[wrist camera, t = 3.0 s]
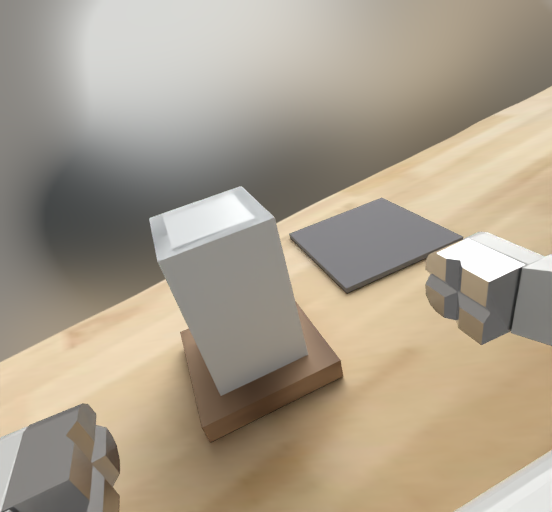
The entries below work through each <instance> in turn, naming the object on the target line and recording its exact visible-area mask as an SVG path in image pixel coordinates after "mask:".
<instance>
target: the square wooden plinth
mask: <svg viewBox="0 0 552 512" xmlns="http://www.w3.org/2000/svg"><path fill="white" fill-rule="evenodd" d="M295 303H296V301H295ZM296 307H297V311H298V315H299V319H300V323H301V327H302V331H303V335H304V339H305V343H306V347H307V352H308V355H307V356H304V357H302V358H300V359H298V360H296V361H294V362H292V363H290V364H288V365H285V366H283V367H281V368H279V369H277V370H275V371H273V372H271V373H269V374H266V375H264V376H262V377H260V378H258V379H256V380H254V381H252V382H250V383H247V384H245V385H243V386H241V387H239V388H237V389H235V390H233V391H231V392H228V393H226V394H224V395H222V396H221V395H220V393H219V391H218V389H217V387H216V385H215V383H214V381H213V378H212V376H211V374H210V372H209V370H208V368H207V366H206V364H205V361H204V359H203V357H202V355H201V353H200V351H199V349H198V347H197V344H196V342H195V340H194V338H193V336H192V334H191V332H190V330H189V329H187V330H184V331H182V332H180V333H181V337H182V342H183V346H184V351H185V355H186V359H187V364H188V368H189V373H190V377H191V381H192V386H193V390H194V394H195V399H196V403H197V408H198V412H199V416H200V421H201V425H202V428H203V430H204V432H205V434H206V436H207V438H208V439H209V441H210V442H212V441H214V440H216V439H218V438H220V437H222V436H224V435H226V434H228V433H230V432H232V431H234V430H236V429H238V428H240V427H242V426H244V425H246V424H248V423H250V422H252V421H254V420H256V419H258V418H260V417H262V416H264V415H266V414H268V413H270V412H272V411H274V410H276V409H278V408H281V407H283V406H285V405H287V404H289V403H291V402H293V401H295V400H297V399H299V398H301V397H303V396H305V395H307V394H309V393H311V392H313V391H315V390H317V389H319V388H321V387H323V386H325V385H327V384H329V383H331V382H333V381H335V380H337V379H339V378H341V377H343V372H342V367H341V361H340V359H339V358H338V357H337V355H336V354H335V353H334V351H333V350H332V349H331V347H330V346H329V345H328V343H327V342H326V341H325V340H324V338H323V337H322V336H321V334H320V333H319V332H318V330H317V329H316V328H315V326H314V325H313V324H312V322H311V321H310V320H309V319H308V317H307V316H306V315H305V313H304V312H303V311H302V309H301V308H300V307H299V305H298V304H297V303H296Z"/></svg>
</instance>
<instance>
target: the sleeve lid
mask: <svg viewBox="0 0 552 512" xmlns="http://www.w3.org/2000/svg"><path fill="white" fill-rule="evenodd" d="M149 220H150V225H151V230H152V235H153V240H154V246H155V251H156V256H157V261H158V264H159V266H160V268H161V270H162V272H163V274H164V276H165V279H166V281H167V283H168V285H169V287H170V289H171V291H172V293H173V296H174V298H175V300H176V302H177V304H178V306H179V308H180V310H181V313H182V315H183V317H184V319H185V321H186V323H187V325H188V327H189V330H190V332H191V334H192V336H193V338H194V340H195V342H196V344H197V347H198V349H199V351H200V353H201V355H202V357H203V359H204V361H205V364H206V366H207V368H208V370H209V372H210V374H211V376H212V378H213V381H214V383H215V385H216V387H217V389H218V391H219V393H220V395H221V396H222V395H224V394H226V393H228V392H231V391H233V390H235V389H237V388H239V387H241V386H243V385H245V384H247V383H250V382H252V381H254V380H256V379H258V378H260V377H262V376H264V375H266V374H269V373H271V372H273V371H275V370H277V369H279V368H281V367H283V366H285V365H288V364H290V363H292V362H294V361H296V360H298V359H300V358H302V357H304V356H307V355H308V352H307V347H306V343H305V339H304V335H303V331H302V327H301V323H300V319H299V315H298V311H297V307H296V303H295V299H294V295H293V291H292V286H291V282H290V278H289V274H288V270H287V266H286V262H285V258H284V254H283V250H282V246H281V242H280V238H279V234H278V230H277V225H276V221H275V218H274V217H273V216H272V215H271V214H270V213H269V212H268V211H267V210H266V209H265V208H264V207H262V205H261V204H260V203H259V202H257V201H256V200H255V199H254V198H253V197H252V196H251V195H250V194H249V193H248V192H247V191H246V190H245V189H244V188H243V187H242V186H240V187H237V188H234V189H231V190H229V191H226V192H223V193H220V194H217V195H214V196H212V197H209V198H206V199H203V200H200V201H197V202H195V203H192V204H189V205H186V206H183V207H180V208H177V209H174V210H171V211H169V212H166V213H163V214H160V215H157V216H154V217H151V218H149Z"/></svg>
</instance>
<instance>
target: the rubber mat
mask: <svg viewBox="0 0 552 512" xmlns="http://www.w3.org/2000/svg"><path fill="white" fill-rule="evenodd" d="M289 235H290V238H291V239H292V240H293V241H294V242H295V243H296V244H297V245H298V246H299V247H300V248H301V249H302V250H303V251H304V252H305V253H306V254H307V255H308V256H309V257H310V258H311V259H312V260H313V261H314V262H316V263H317V264H318V265H319V266H320V267H321V268H322V269H323V270H324V271H325V272H326V273H327V274H328V275H329V276H330V277H331V278H332V279H333V280H334V281H335V282H336V283H337V284H338V285H339V286H340V287H341V288H342V289H343V290H344V291H345V292H346V293H348V292H351V291H353V290H355V289H357V288H360V287H362V286H364V285H366V284H369V283H371V282H373V281H375V280H378V279H380V278H382V277H384V276H387V275H389V274H391V273H393V272H396V271H398V270H400V269H402V268H405V267H407V266H409V265H411V264H414V263H416V262H418V261H420V260H423V259H425V258H427V257H428V255H429V254H431V253H433V252H436V251H438V250H440V249H443V248H445V247H447V246H449V245H452V244H454V243H456V242H458V241H461V240H462V239H463V236H460V235H458V234H456V233H454V232H452V231H450V230H448V229H446V228H444V227H442V226H440V225H438V224H435V223H433V222H431V221H429V220H427V219H425V218H423V217H421V216H419V215H417V214H415V213H413V212H410V211H408V210H406V209H404V208H402V207H400V206H398V205H396V204H394V203H392V202H390V201H388V200H385V199H383V198H380V199H377V200H375V201H372V202H370V203H367V204H364V205H362V206H359V207H357V208H354V209H352V210H349V211H346V212H344V213H341V214H339V215H336V216H334V217H331V218H329V219H326V220H323V221H321V222H318V223H316V224H313V225H311V226H308V227H306V228H303V229H300V230H298V231H295V232H293V233H290V234H289Z"/></svg>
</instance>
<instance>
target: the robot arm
mask: <svg viewBox="0 0 552 512" xmlns="http://www.w3.org/2000/svg"><path fill="white" fill-rule="evenodd" d="M426 270H427V271H428V272H429V273H430V276H429V278H428V280H427V282H426V296H427V298H428V300H429V303H430V305H431V306H432V307H433V308H434V310H435V311H436V312H437V313H439V314H440V315H441V316H443V317H444V318H448V319H453V320H456V322H457V325H458V328H459V329H460V330H461V331H463V332H464V333H465V334H467V335H468V336H469V337H471V338H472V339H474V340H475V341H476V342H478V343H479V344H480V345H483V344H485V343H487V342H489V341H491V340H493V339H495V338H497V337H499V336H501V335H504V334H506V333H508V332H510V331H511V333H513V334H516V335H519V336H522V337H525V338H528V339H532V340H535V341H538V342H541V343H544V344H547V345H551V346H552V254H550V255H548V256H543V255H540V254H538V253H535V252H533V251H531V250H528V249H526V248H523V247H521V246H519V245H516V244H514V243H512V242H509V241H507V240H504V239H502V238H500V237H497V236H495V235H492V234H490V233H488V232H477V233H475V234H473V235H471V236H469V237H466V238H464V239H462V240H461V241H458V242H456V243H454V244H452V245H449V246H447V247H445V248H443V249H440V250H438V251H436V252H433V253H431V254H429V255H428V257H427V259H426ZM119 474H120V459H119V455H118V450H117V445H116V443H115V441H114V439H113V436H112V435H111V433H110V432H109V430H108V429H107V428H106V427H102V426H98V425H96V413H95V412H94V411H93V409H92V408H91V407H90V406H89V405H88V404H80V405H78V406H75V407H73V408H70V409H68V410H65V411H63V412H61V413H58V414H56V415H53V416H51V417H48V418H46V419H43V420H41V421H38V422H36V423H33V424H31V425H29V426H28V427H25V428H22V429H20V430H18V431H15V432H13V433H10V434H8V435H5V436H3V437H1V438H0V512H119V508H120V496H119V494H118V493H117V492H116V491H115V489H114V488H113V485H114V483H115V481H116V480H117V478H118V476H119ZM453 512H552V450H551V451H549V452H547V453H546V454H544V455H543V456H541V457H539V458H538V459H536V460H535V461H533V462H531V463H530V464H528V465H527V466H525V467H523V468H522V469H520V470H519V471H517V472H516V473H514V474H512V475H511V476H509V477H508V478H506V479H504V480H503V481H501V482H500V483H498V484H496V485H495V486H493V487H492V488H490V489H488V490H487V491H485V492H484V493H482V494H481V495H479V496H477V497H476V498H474V499H473V500H471V501H469V502H468V503H466V504H465V505H463V506H461V507H460V508H458V509H457V510H455V511H453Z"/></svg>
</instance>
